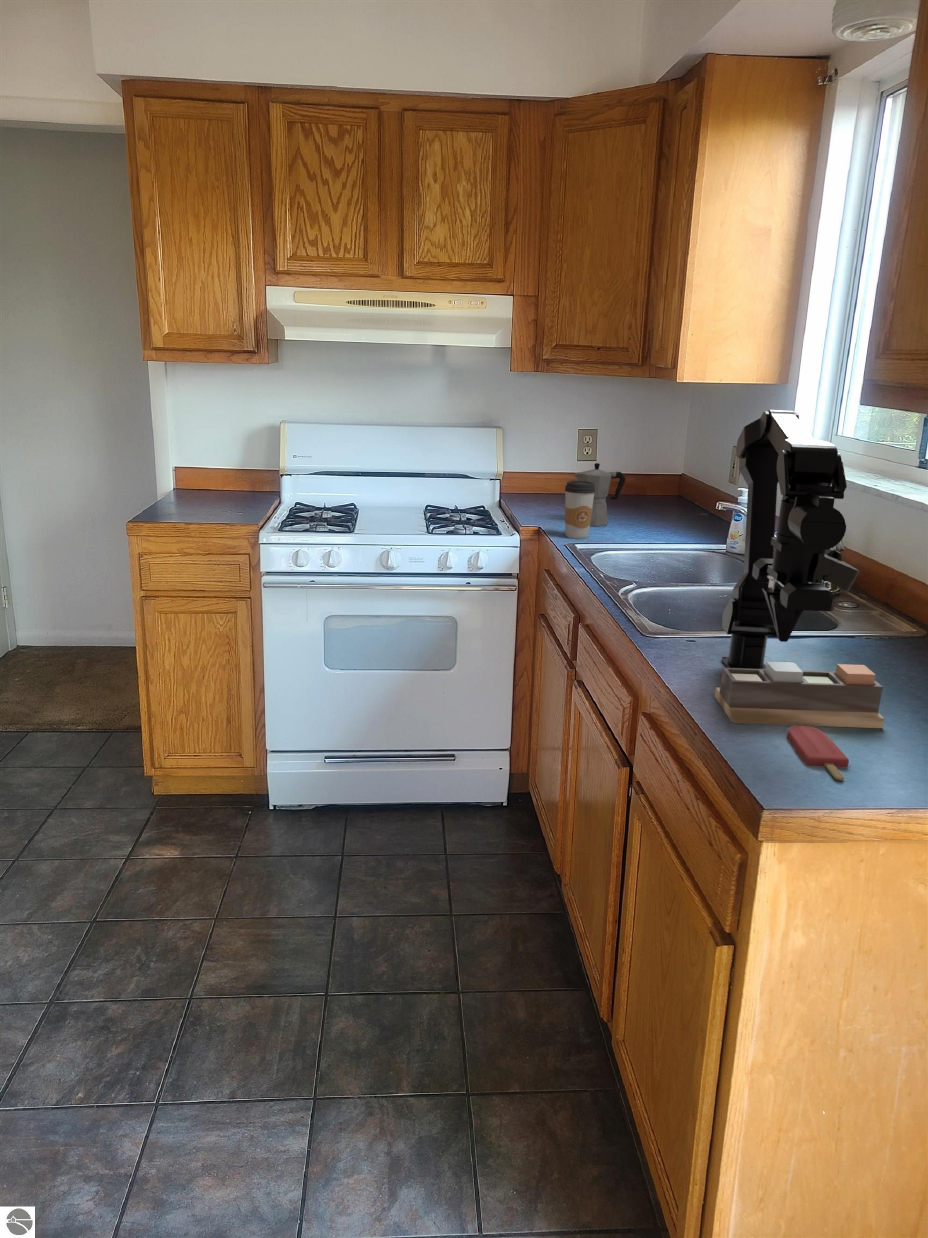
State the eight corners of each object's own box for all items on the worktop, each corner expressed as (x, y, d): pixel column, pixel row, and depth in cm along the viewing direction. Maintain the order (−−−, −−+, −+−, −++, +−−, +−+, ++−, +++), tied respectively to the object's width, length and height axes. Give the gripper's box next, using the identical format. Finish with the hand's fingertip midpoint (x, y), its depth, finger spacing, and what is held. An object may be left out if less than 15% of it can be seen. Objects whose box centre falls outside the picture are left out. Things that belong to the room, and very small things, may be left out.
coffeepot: (573, 526, 264) (578, 464, 258) (567, 520, 273) (571, 460, 267) (625, 527, 265) (630, 465, 260) (617, 521, 274) (622, 461, 269)
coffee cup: (567, 540, 245) (571, 485, 241) (557, 533, 253) (560, 480, 248) (596, 539, 247) (600, 484, 242) (585, 533, 255) (589, 480, 250)
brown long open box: (714, 696, 138) (718, 662, 136) (854, 701, 138) (860, 667, 136) (732, 723, 128) (737, 687, 127) (882, 728, 128) (889, 692, 127)
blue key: (764, 680, 134) (766, 661, 133) (790, 681, 134) (793, 662, 133) (772, 690, 130) (775, 671, 129) (800, 691, 130) (803, 672, 129)
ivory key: (727, 692, 135) (729, 673, 134) (754, 693, 135) (756, 674, 134) (734, 702, 131) (737, 683, 130) (762, 703, 131) (765, 684, 130)
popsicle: (820, 772, 112) (781, 724, 126) (818, 784, 112) (780, 734, 126) (863, 774, 112) (820, 725, 126) (861, 786, 112) (818, 735, 126)
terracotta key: (833, 683, 134) (837, 664, 133) (860, 684, 134) (864, 665, 133) (844, 693, 130) (847, 673, 129) (872, 694, 130) (875, 674, 129)
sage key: (797, 694, 135) (799, 675, 134) (823, 695, 135) (826, 676, 134) (806, 705, 131) (809, 685, 130) (834, 705, 131) (837, 686, 130)
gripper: (884, 552, 116) (863, 665, 121) (833, 524, 134) (817, 624, 139) (796, 548, 116) (780, 662, 121) (758, 520, 134) (744, 620, 139)
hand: (782, 640), depth 130 cm, fingers closed
